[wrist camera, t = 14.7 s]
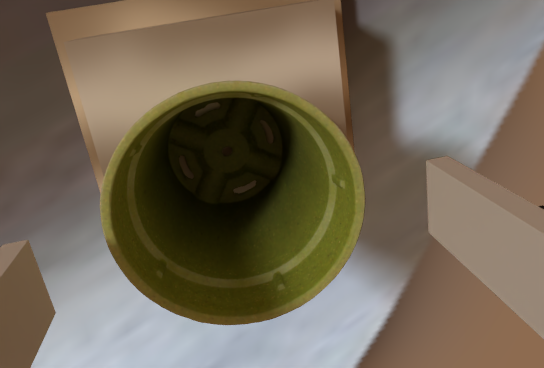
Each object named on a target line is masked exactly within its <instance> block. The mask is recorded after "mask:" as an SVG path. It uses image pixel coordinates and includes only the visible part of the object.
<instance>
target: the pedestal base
mask: <svg viewBox="0 0 544 368" xmlns="http://www.w3.org/2000/svg"><path fill="white" fill-rule="evenodd" d="M46 16H47V19H48V22H49V25H50V29H51V32H52V35H53V39H54V42H55V45H56V48H57V52H58V55H59V58H60V61H61V65H62V68H63V71H64V75H65V78H66V81H67V84H68V88H69V91H70V94H71V98H72V101H73V104H74V107H75V111H76V114H77V117H78V120H79V124H80V127H81V130H82V134H83V137H84V140H85V143H86V147H87V150H88V153H89V156H90V160H91V163H92V166H93V170H94V173H95V176H96V179H97V183H98V186H99V189H100V193H101V189H102V184H103V179H104V176H105V172H106V169H107V166H108V164H109V162H110V159H111V157H112V155H113V153H114V151H115V149H116V147H117V146H118V144H119V143H120V141H121V140H122V138H123V137H124V135H125V134H126V133H127V131H128V130H129V129H130V128H131V127H132V126H133V125H134V124H135V123H136V122H137V121H138V120H139V119H140V118H141V117H142V116H143V115H144V114H145V113H147V112H148V111H149V110H150V109H152V108H153V107H154V106H156V105H158V104H159V103H161V102H162V101H164V100H166V99H167V98H169V97H171V96H173V95H175V94H177V93H179V92H182V91H184V90H187V89H190V88H193V87H196V86H200V85H204V84H208V83H214V82H222V81H251V82H258V83H263V84H268V85H272V86H276V87H278V88H281V89H284V90H287V91H289V92H291V93H294V94H296V95H298V96H300V97H302V98H304V99H306V100H307V101H309V102H310V103H312V104H313V105H315V106H316V107H317V108H319V109H320V110H321V111H322V112H323V113H325V114H326V115H327V116H328V117H329V118H330V119H331V120H332V121H333V122H334V123H335V124H336V125H337V126H338V128H339V129H340V130H341V131H342V132H343V134H344V135H345V137H346V138H347V140H348V141H349V143H350V145H351V147H352V149H353V151H354V142H353V131H352V120H351V109H350V98H349V87H348V76H347V65H346V54H345V43H344V32H343V21H342V10H341V0H125V1H119V2H113V3H106V4H100V5H93V6H87V7H81V8H74V9H68V10H62V11H55V12H49V13H46ZM218 108H220V104H219V103H218V102H216V103H210V104H208V105H206V107H205V108H202V109H200V110H197V111H196V115H195V116H196V117H200V116H201V115H202V114H204V113H207V112H208V111H211V110H214V109H218ZM260 123H261V124H262V127H263V129H264V131H265V134H266V137H267V141H268V143H269V144H271V143H273V139H274V137H273V133H272V131H271V129H270V127H269V126H268V125H267V123H266V122H265V121H262V120H261V121H260ZM222 153H223V155H224V156H228V155H230V154H231V153H232V149H231V148H230V147H225V148H223V150H222ZM179 163H180V166H181V168H182V170H183V172H184V174H185V175H186V176H187V177H188V178H191V179H193V178H194V175H193V173H192V172H191V171H190V169H189V167H188V165H187V162H186V159H185V157H184V156H180V158H179ZM255 185H256V181H255V180H254V181H252V182H251V183H249V184H247V185H245V186H241V187H238V188H235V189H234V190H233V191H234V193H243V192H245V191H247V190H249V189H251V188H253V187H254V186H255Z"/></svg>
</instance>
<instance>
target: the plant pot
mask: <svg viewBox="0 0 544 368" xmlns="http://www.w3.org/2000/svg"><path fill="white" fill-rule="evenodd" d="M216 102H218V103H219V104H220V108H218V109H214V110H211V111H208V112H207V113H204V114H202V115H201V116H200V117H196V116H195V115H196V111H197V110H200V109H202V108H205V107H206V105H208V104H210V103H216ZM261 120H262V121H265V122H266V123H267V125H268V126H269V127H270V129H271V131H272V133H273V137H274V139H273V143H271V144H269V143H268V141H267V137H266V134H265V131H264V129H263V127H262V124H261V123H260V121H261ZM225 147H230V148H231V149H232V153H231V154H230V155H228V156H224V155H223V153H222V150H223V148H225ZM180 156H184V157H185V159H186V162H187V165H188V167H189V169H190V171H191V172H192V173H193V175H194V178H193V179H191V178H188V177H187V176H186V175H185V174H184V172H183V170H182V168H181V166H180V163H179V158H180ZM254 180H255V181H256V185H255V186H254V187H253V188H251V189H249V190H247V191H245V192H243V193H234V191H233V190H234V189H235V188H238V187H241V186H245V185H247V184H249V183H251V182H252V181H254ZM100 211H101V214H100V215H101V222H102V228H103V233H104V236H105V239H106V242H107V245H108V247H109V250H110V252H111V254H112V256H113V257H114V259H115V261H116V263H117V264H118V266H119V267H120V269H121V270H122V272H123V273H124V274H125V276H126V277H127V278H128V280H129V281H130V282H131V283H132V284H133V285H134V286H135V287H136V288H137V289H138V290H139V291H140V292H141V293H142V294H144V295H145V296H146V297H148V298H149V299H150V300H152V301H154V302H155V303H157V304H158V305H160V306H161V307H163V308H165V309H167V310H169V311H170V312H173V313H175V314H177V315H180V316H183V317H186V318H189V319H192V320H195V321H198V322H202V323H210V324H218V325H239V324H249V323H255V322H262V321H265V320H270V319H273V318H276V317H278V316H281V315H283V314H286V313H288V312H290V311H292V310H294V309H296V308H299V307H300V306H302V305H304V304H305V303H307V302H308V301H310V300H311V299H312V298H314V297H315V296H316V295H317V294H318V293H320V292H321V291H322V290H323V289H324V288H325V287H326V286H327V285H328V284H329V283H330V282H331V281H332V280H333V279H334V278H335V277H336V276H337V275H338V274H339V272H340V271H341V269H342V268H343V267H344V265H345V263H346V262H347V260H348V259H349V257H350V255H351V253H352V251H353V249H354V247H355V245H356V242H357V240H358V237H359V234H360V231H361V228H362V224H363V219H364V211H365V190H364V182H363V176H362V172H361V168H360V165H359V162H358V159H357V157H356V155H355V153H354V151H353V149H352V147H351V145H350V143H349V141H348V140H347V138H346V137H345V135H344V134H343V132H342V131H341V130H340V129H339V128H338V126H337V125H336V124H335V123H334V122H333V121H332V120H331V119H330V118H329V117H328V116H327V115H326V114H325V113H323V112H322V111H321V110H320V109H319V108H317V107H316V106H315V105H313V104H312V103H310V102H309V101H307V100H306V99H304V98H302V97H300V96H298V95H296V94H294V93H291V92H289V91H287V90H284V89H281V88H278V87H276V86H272V85H268V84H263V83H258V82H251V81H222V82H214V83H208V84H204V85H200V86H196V87H193V88H190V89H187V90H184V91H182V92H179V93H177V94H175V95H173V96H171V97H169V98H167V99H166V100H164V101H162V102H161V103H159V104H158V105H156V106H154V107H153V108H152V109H150V110H149V111H148V112H147V113H145V114H144V115H143V116H142V117H141V118H140V119H139V120H138V121H137V122H136V123H135V124H134V125H133V126H132V127H131V128H130V129H129V130H128V131H127V133H126V134H125V135H124V137H123V138H122V140H121V141H120V143H119V144H118V146H117V147H116V149H115V151H114V153H113V155H112V157H111V159H110V162H109V164H108V166H107V169H106V172H105V176H104V179H103V184H102V189H101V198H100Z"/></svg>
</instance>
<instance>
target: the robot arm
mask: <svg viewBox="0 0 544 368" xmlns="http://www.w3.org/2000/svg"><path fill="white" fill-rule="evenodd" d="M426 174H427V202H428V230H429V233H430V234H431V235H432V236H433V237H434V238H435V239H436V240H437V241H438V242H439V243H440V244H441V245H443V246H444V247H445V248H446V249H447V250H448V251H449V252H450V253H451V254H452V255H454V257H456V258H457V259H458V260H459V261H460V262H461V263H462V264H463V265H464V266H465V267H466V268H467V269H469V270H470V271H471V272H472V273H473V274H474V275H475V276H476V277H477V278H478V279H479V280H480V281H481V282H483V283H484V284H485V285H486V286H487V287H488V288H489V289H490V290H491V291H492V292H493V293H494V294H495V295H497V296H498V297H499V298H500V299H501V300H502V301H503V302H504V303H505V304H506V305H507V306H508V307H510V308H511V309H512V310H513V311H514V312H515V313H516V314H517V315H518V316H519V317H520V318H521V319H522V320H524V321H525V322H526V323H527V324H528V325H529V326H530V327H531V328H532V329H533V330H534V331H536V332H537V333H538V334H539V335H540V336H541V337H542V338H543V339H544V206H536V205H534V204H533V203H531V202H529V201H527V200H526V199H524V198H522V197H520V196H518V195H517V194H514V193H513V192H511V191H509V190H508V189H506V188H504V187H502V186H500V185H499V184H497V183H495V182H493V181H491V180H489V179H488V178H486V177H484V176H482V175H481V174H479V173H477V172H475V171H473V170H472V169H470V168H468V167H466V166H464V165H463V164H461V163H459V162H457V161H455V160H454V159H452V158H450V157H448V156H445V157H440V158H435V159H430V160H426ZM55 313H56V312H55V310H54V307H53V304H52V302H51V299H50V296H49V294H48V291H47V289H46V286H45V283H44V281H43V278H42V275H41V273H40V270H39V267H38V265H37V262H36V259H35V257H34V254H33V251H32V249H31V246H30V243H29V241H28V240H25V241H20V242H15V243H10V244H5V245H2V246H1V248H0V368H30V367H31V365H32V363H33V361H34V358H35V356H36V354H37V352H38V350H39V348H40V346H41V343H42V341H43V339H44V337H45V335H46V333H47V330H48V328H49V326H50V324H51V322H52V320H53V317H54V315H55Z"/></svg>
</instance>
